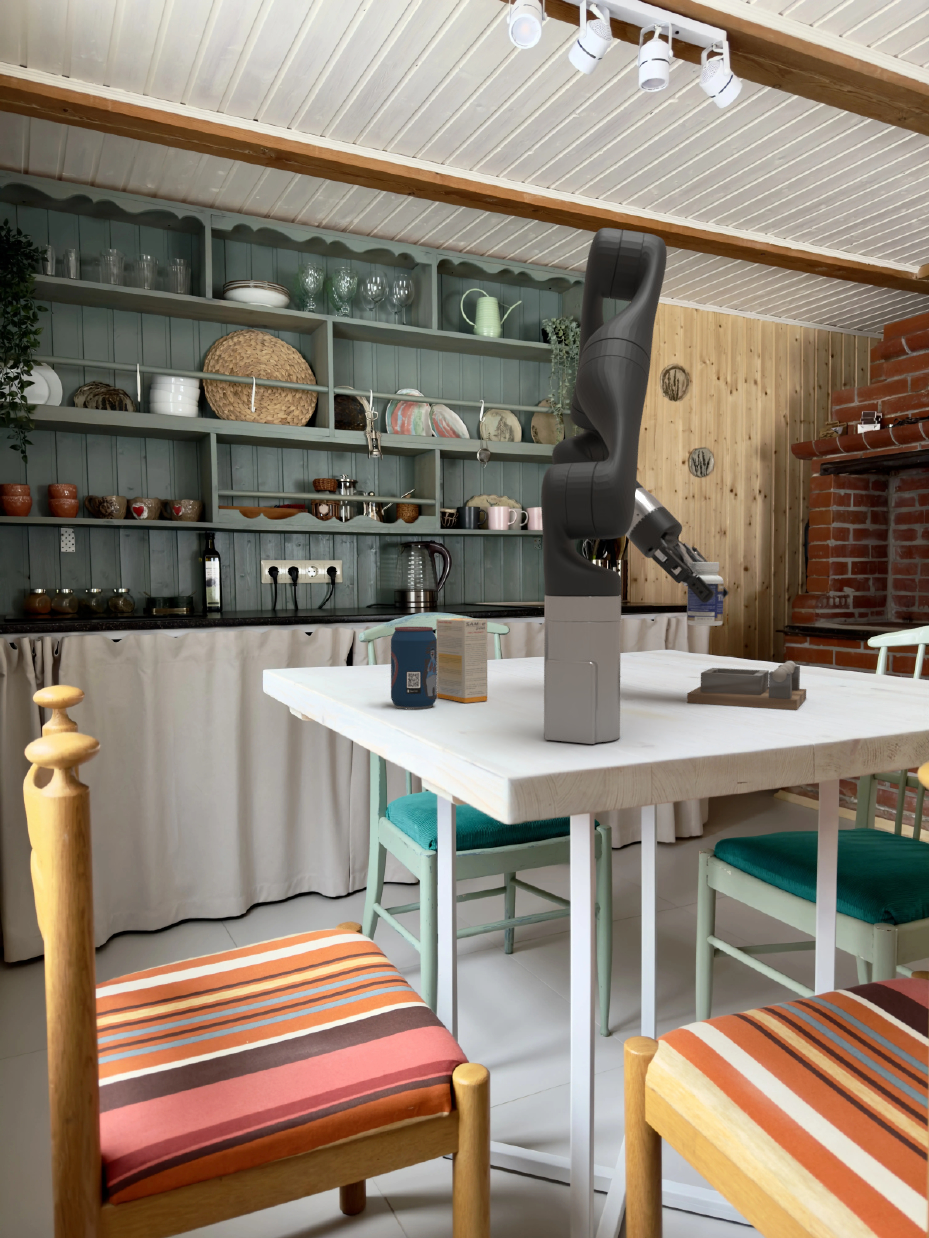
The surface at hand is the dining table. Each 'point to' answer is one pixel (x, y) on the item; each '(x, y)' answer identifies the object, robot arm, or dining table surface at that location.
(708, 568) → the pill bottle
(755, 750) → the dining table surface
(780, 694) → the block
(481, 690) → the supplement box
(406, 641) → the soda can
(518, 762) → the dining table surface
